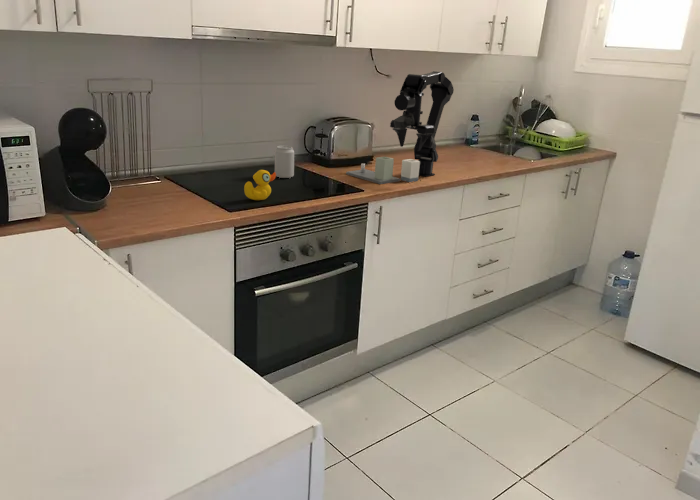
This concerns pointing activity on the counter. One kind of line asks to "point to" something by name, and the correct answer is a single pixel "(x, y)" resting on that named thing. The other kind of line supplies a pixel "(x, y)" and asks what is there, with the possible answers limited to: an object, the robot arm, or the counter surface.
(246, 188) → the duckling
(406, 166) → the sleeve
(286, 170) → the can
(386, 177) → the pin board
